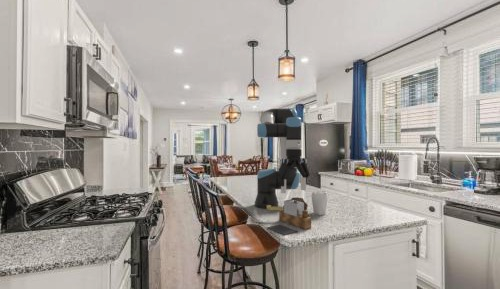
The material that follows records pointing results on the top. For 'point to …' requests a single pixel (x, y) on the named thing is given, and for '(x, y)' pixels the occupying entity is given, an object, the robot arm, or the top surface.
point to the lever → (274, 207)
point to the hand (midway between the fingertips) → (293, 191)
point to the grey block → (293, 207)
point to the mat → (282, 229)
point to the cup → (319, 202)
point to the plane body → (296, 219)
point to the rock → (300, 201)
